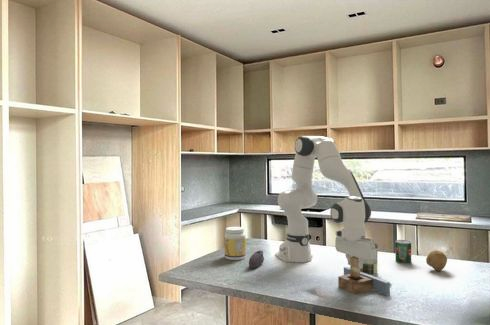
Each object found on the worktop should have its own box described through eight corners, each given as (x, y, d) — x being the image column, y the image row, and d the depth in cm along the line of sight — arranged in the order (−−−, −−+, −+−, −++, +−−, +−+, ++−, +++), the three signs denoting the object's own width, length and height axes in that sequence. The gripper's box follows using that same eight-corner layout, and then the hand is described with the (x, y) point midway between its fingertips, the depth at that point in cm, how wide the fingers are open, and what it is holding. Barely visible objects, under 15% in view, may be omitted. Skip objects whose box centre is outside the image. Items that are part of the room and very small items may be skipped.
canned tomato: (414, 264, 185) (414, 243, 185) (399, 264, 185) (398, 243, 185) (407, 259, 193) (407, 239, 193) (393, 259, 193) (392, 239, 193)
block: (338, 286, 153) (338, 276, 153) (355, 282, 158) (355, 272, 158) (355, 294, 144) (355, 283, 144) (372, 289, 149) (372, 279, 149)
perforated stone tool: (254, 271, 176) (254, 257, 176) (244, 269, 179) (244, 256, 179) (266, 263, 190) (266, 250, 190) (257, 262, 192) (257, 249, 192)
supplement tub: (221, 256, 204) (221, 227, 204) (240, 253, 209) (240, 225, 209) (229, 261, 193) (229, 231, 193) (249, 259, 198) (249, 229, 198)
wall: (343, 278, 164) (343, 267, 164) (347, 277, 165) (346, 266, 165) (386, 295, 143) (386, 282, 143) (389, 294, 144) (389, 282, 144)
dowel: (348, 275, 152) (348, 256, 152) (355, 273, 154) (354, 255, 154) (355, 278, 148) (355, 259, 148) (362, 276, 150) (361, 257, 150)
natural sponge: (426, 272, 172) (426, 251, 172) (426, 267, 179) (426, 247, 179) (447, 274, 167) (447, 253, 167) (446, 269, 175) (446, 249, 175)
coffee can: (365, 277, 165) (364, 247, 165) (351, 271, 174) (350, 242, 174) (382, 274, 168) (382, 245, 168) (368, 268, 178) (367, 240, 178)
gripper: (379, 237, 143) (379, 271, 143) (343, 229, 161) (343, 259, 161) (368, 239, 140) (369, 274, 140) (332, 231, 158) (333, 261, 158)
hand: (355, 266), depth 151 cm, fingers closed on dowel, 4 cm apart
